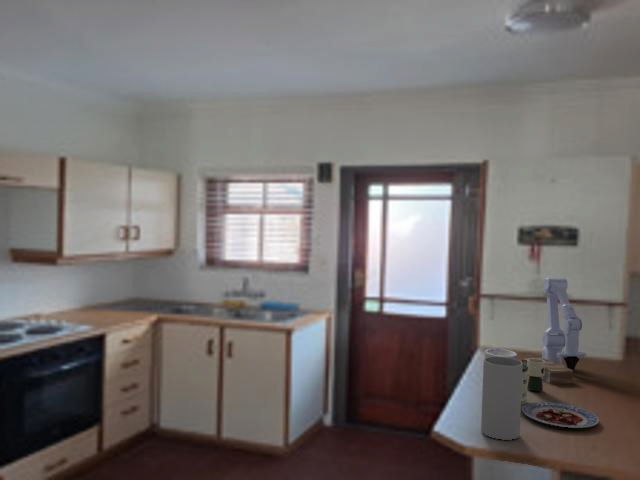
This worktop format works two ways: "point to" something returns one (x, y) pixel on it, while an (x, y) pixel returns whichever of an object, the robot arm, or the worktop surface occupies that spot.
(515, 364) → the cylinder vase
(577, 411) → the ceramic plate
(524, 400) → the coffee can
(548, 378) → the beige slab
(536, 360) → the character mug
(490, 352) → the paper bowls
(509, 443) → the worktop surface
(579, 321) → the robot arm
